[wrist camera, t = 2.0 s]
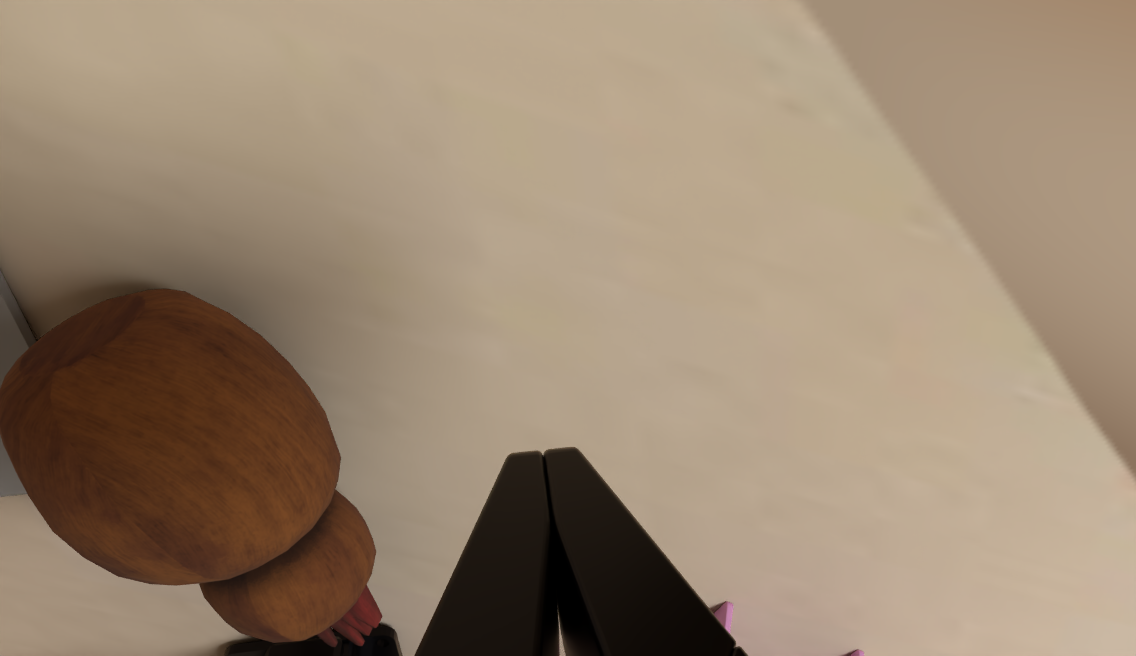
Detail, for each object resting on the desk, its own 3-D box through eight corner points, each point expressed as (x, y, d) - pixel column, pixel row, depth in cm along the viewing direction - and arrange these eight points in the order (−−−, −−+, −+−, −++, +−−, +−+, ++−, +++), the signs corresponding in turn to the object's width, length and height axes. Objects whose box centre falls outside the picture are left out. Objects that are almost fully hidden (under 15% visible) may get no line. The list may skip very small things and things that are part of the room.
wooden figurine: (23, 306, 21) (306, 601, 29) (-117, 461, 16) (268, 757, 25) (243, 230, 20) (467, 558, 28) (163, 370, 15) (460, 711, 24)
